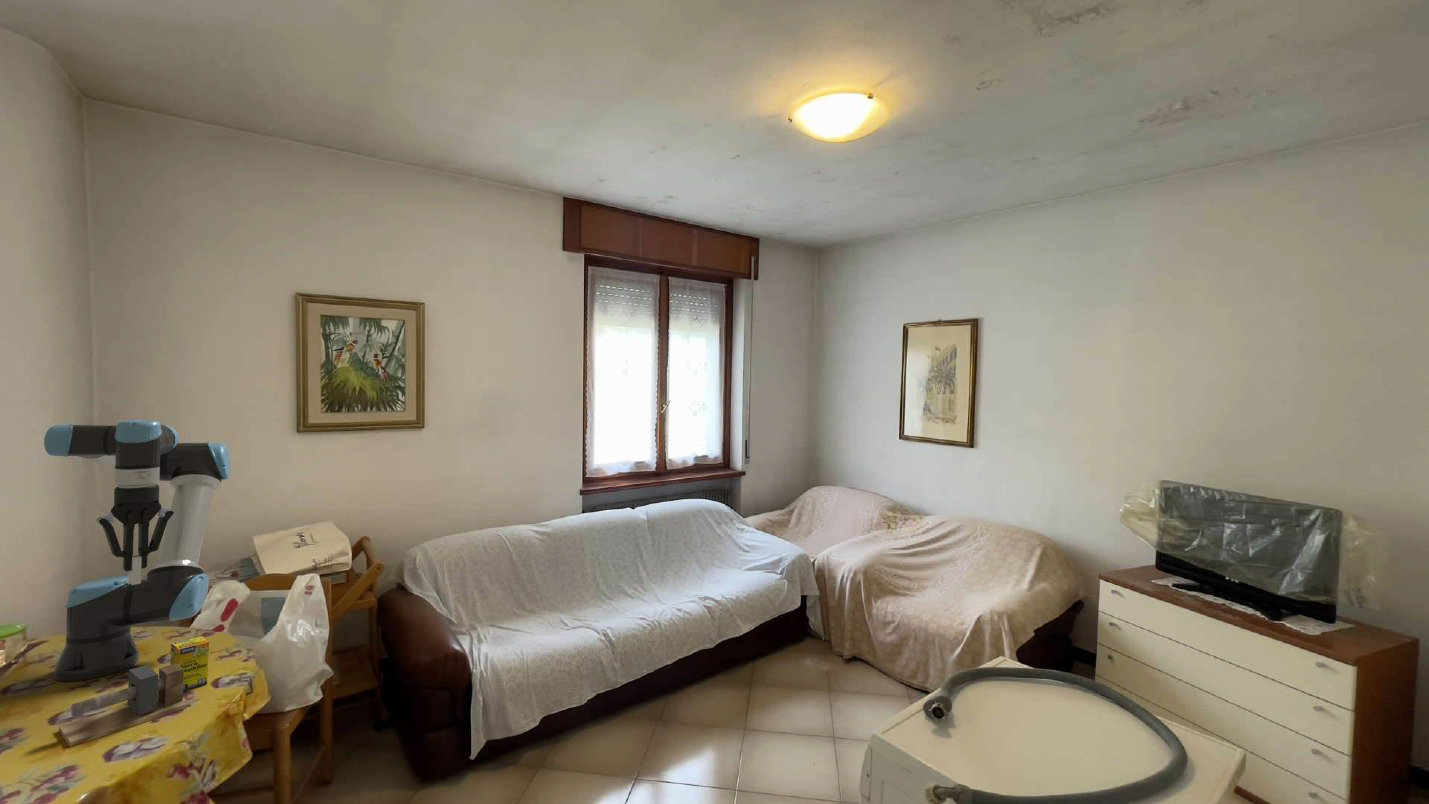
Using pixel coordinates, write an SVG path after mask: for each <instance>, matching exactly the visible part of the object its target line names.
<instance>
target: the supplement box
mask: <svg viewBox="0 0 1429 804" xmlns="http://www.w3.org/2000/svg"><path fill="white" fill-rule="evenodd" d="M209 650H210V641H209V640H208V639H206V638H204V637H203V636H202V635H201V636H197V637H193V638H189V639H185V640H182V641H178V642H171V644H170V664H169V665H172V664H178V665H179V666H180V667H182V668H183V669H184V672H183V692H184V691H185V692H186V691H188V690H191V689H195V688H198V687H201V686H202V687H203V686H206V685H207V684H208V672H209V654H210V652H209Z"/></svg>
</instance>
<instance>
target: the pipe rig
mask: <svg viewBox="0 0 1429 804" xmlns="http://www.w3.org/2000/svg"><path fill="white" fill-rule="evenodd" d="M183 672H184V669H183V668H182V667H180V666H179V665H178V664H172V665H170V664H169V665H166V666H162V667H159V668H158V695H157V710H155V711H151V712H148V713H145V714H142V715H139V716H138V715H137V714H136V713H135V712H134V711H133V710H132V709H131V708H130V707H129V706H128V704H127V705H123V706H120V707H117V708H114V709H111V710H107V711H104V712H101V713H97V714H94V715H92V716H91V715H90V716H88V717H85V718H82V719H77V720H75V721H72V722H69V723H64V724H62V725H59V726H58V732H59V733H60V735H61V737H63V739H64V740H65V742H66V743H67V744H68V746H69V747H70V748H72V747H74V746H77V745H81V744H83V743H86V742H89V741H93V740H95V739H98V738H99V739H100V738H102V737H104V736H107V735H110V734H113V733H116V732H119V731H122V730H125V729H129V728H131V727H134V726H138V725H140V724H143V723H146V722H149V721H152V720H155V719H158V718H162V717H165V716H168V715H171V714H173V713H176V712H179V711H180V712H181V711H182V710H186V709H187V703H185V702H184V701H183V693H184V691H183ZM134 698H136V686H133V687H130V688H128V687H126V688H123V689H120V690H116V691H114V692H110V693H107V694H102V695H100V696H96V697H92V698H90V699H85V700H81V701H79V702H75V703H71V707H70V710H71V711H70V713H71V717H72V718H75V717H77V716H81V715H84V714H87V713H91V712H95V711H98V710H100V709H104V708H107V707H110V706H114V705H117V704H120V703H123V702H126V701H127V702H128V700H130V699H134Z"/></svg>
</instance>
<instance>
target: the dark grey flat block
mask: <svg viewBox="0 0 1429 804" xmlns="http://www.w3.org/2000/svg"><path fill="white" fill-rule="evenodd" d="M158 679H159V673H158V672H156V671H155V670H153V668H151V667H150V666H149V665H148V664H145V665H142V666H138V667H135V668H131V669H129V670H128V686H127V688H130V687H133V686H136V698H134V699H130V700H127V705H128V706H129V707H130V708H131V709H132V710H133V711H134V712H135V713H136V714H137V715H138V716H139V715H142V714H145V713H148V712H151V711H155V710H157V696H158Z"/></svg>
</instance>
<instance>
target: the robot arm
mask: <svg viewBox="0 0 1429 804" xmlns="http://www.w3.org/2000/svg"><path fill="white" fill-rule="evenodd" d="M179 437H180V436H179V433H178V431H176V429H175V428H173V427H172V426H169V425H167V424H161V422H160V421H158V420H153V419H152V420H149V419H131V420H122V421H119V422H118V423H117V424H116V425H107V424H105V425H103V424H102V425H101V424H99V425H96V424H95V425H94V424H91V425H90V424H58V425H57V424H56V425H53V426H51V427H50V428H48V429H47V430H46V432H45V435H44V439H43V446H44V447H43V448H44V450H45V452H46V453H47V454H48V455H50V456H52V457H65V458H67V457H80V458H82V459H86V460H89V461H92V462H95V463H99V464H102V465H106V466H108V467H111V468H112V469H113V470H114V485H115V486H116V487H115V488H114V489H113V492H114V493H113V506H112V508H111V509H110V513H108V514H106V515H104V516H100V517H98V518H96V522H97V523H98V524H99V525H100V526H102V528H103V531H104V533H105V534H104V535H105V536H106V540H107V543H108V546H109V549H110V551H111V554H112V555H113V556H114V557H116V558H123V559H122V563H123V564H122V569H123V571H125V572H128V574H124V573H123V574H117V575H111V576H106V577H105V576H104V577H102V578H97V579H93V580H89V581H87V582H83V583H81V584H78V585H77V586H75V587H73V588H72V589H71V590H70V591H69V593H68V597H67V603H66V606H65V608H66V623H65V625H66V629H65V646H64V647H63V650H62V652H61V654H60V656H59V658H58V661H56V662H57V663H56V665H55V666H54V669H53V679H54V680H55V681H58V682H79V681H86V680H90V679H96V678H100V677H105V676H108V675H112V674H115V673H118V672H121V671H124V670H125V669H128V668H130V667H132V666H133V665H135V664H136V663H138V662H139V659H140V651H139V648H138V646H137V644H136V641H135V640H134V639H135V638H134V637H133V635H132V626H135V625H137V626H138V625H145V624H151V623H152V624H153V623H161V622H174V621H177V620H178V621H179V620H184V619H189V618H192V617H194V616H196V615H197V614H198V613H199V612H200V611H201V609H202V607H203V605H204V603H205V601H206V599H207V596H208V592H209V585H210V578H209V575H207V574H206V573H204V571H205V570H204V568H203V567H201V565H199V560H200V555H201V551H202V546H203V542H204V536H205V531H206V527H207V522H208V517H209V511H210V506H211V502H212V497H213V493H214V491H215V490H216V489H218V488H220V487H221V484H222V481H226V480H228V479H229V478H230V477H231V458H230V452H229V449H228V447H227V446H226V444H224V443H222V442H209V441H206V442H179V440H180V438H179ZM161 481H162V482H165V481H166V482H169V485H170V486H171V487H173V488H174V493H173V497H172V501H171V505H170V509H166V508H163V507H162V504H161V503H160V485H158V483H159V482H161ZM156 515H157V516H158V518H157V521H156V524H155V527H154V530H153V533H152V535H151V538H150V541H149V530H150V528H149V527H150V522H151V521H152V520H153V519H154V518H155V517H156ZM114 518H115V519H116V520H118V522H120V523H121V524H122V528H123V532H122V533H123V534H122V537H123V539H122V540H123V541H122V549H121V546H120V543H119V539H118V537H117V533H116V531H115V528H114V526H113V525H112V524H114ZM136 525H137V526H138V534H137V535H138V537H137V539H138V540H137V543H138V544H137V554H134V537H135V535H134V533H135V527H136ZM161 542H162V544H161ZM160 545H161V548H160ZM159 548H160V550H159ZM158 550H159V551H160V552H159V556H158V561H157V564H156V565H155V566H154V567H152V568H150V569H149V570H148V571H147V574H146V578H145V579H142V570H143V569H146V568H147V567H148V556H149V554H150V553H152V552H157V551H158Z"/></svg>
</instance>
